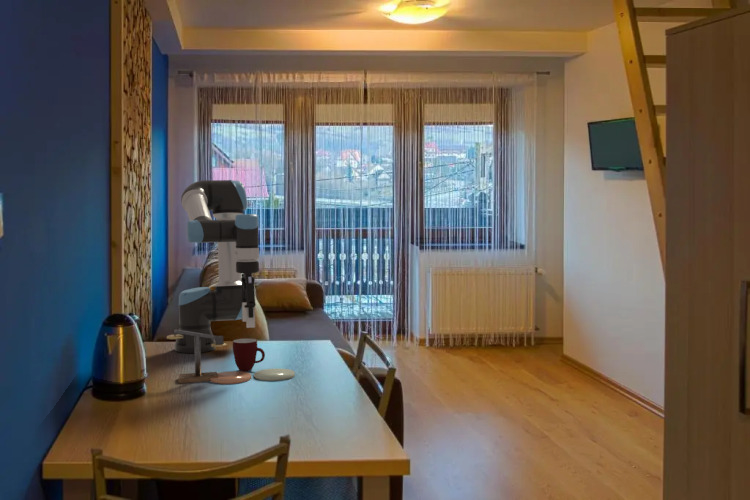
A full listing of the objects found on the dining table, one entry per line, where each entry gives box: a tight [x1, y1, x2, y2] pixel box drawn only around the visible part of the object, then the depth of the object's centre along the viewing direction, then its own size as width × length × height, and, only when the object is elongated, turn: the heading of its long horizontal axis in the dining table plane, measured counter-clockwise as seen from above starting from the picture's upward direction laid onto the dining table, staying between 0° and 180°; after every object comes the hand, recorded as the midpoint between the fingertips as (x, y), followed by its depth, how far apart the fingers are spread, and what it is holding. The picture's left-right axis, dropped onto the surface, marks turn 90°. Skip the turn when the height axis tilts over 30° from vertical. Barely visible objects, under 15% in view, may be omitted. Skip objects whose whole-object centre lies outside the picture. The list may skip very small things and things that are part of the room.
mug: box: [232, 338, 266, 372], centre depth 252 cm, size 11×8×10 cm
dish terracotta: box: [209, 370, 252, 385], centre depth 240 cm, size 13×13×1 cm
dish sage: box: [253, 368, 296, 382], centre depth 244 cm, size 13×13×1 cm
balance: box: [166, 329, 228, 384], centre depth 239 cm, size 6×19×16 cm, turn 105°
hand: (248, 324), depth 251 cm, fingers open, 13 cm apart
